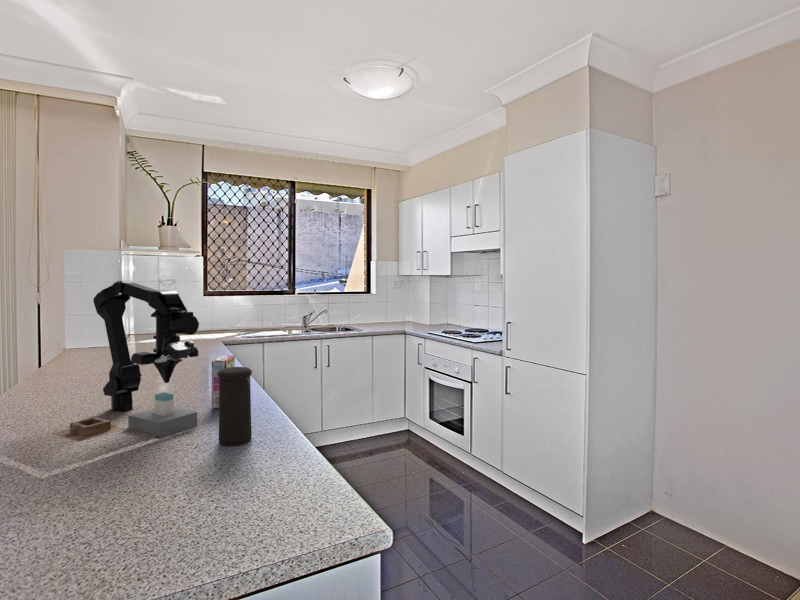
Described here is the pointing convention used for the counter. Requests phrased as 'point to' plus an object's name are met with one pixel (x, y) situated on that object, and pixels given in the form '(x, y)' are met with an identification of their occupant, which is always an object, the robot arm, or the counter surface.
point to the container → (234, 406)
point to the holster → (89, 429)
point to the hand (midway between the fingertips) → (166, 382)
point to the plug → (163, 404)
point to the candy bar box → (217, 366)
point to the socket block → (163, 422)
